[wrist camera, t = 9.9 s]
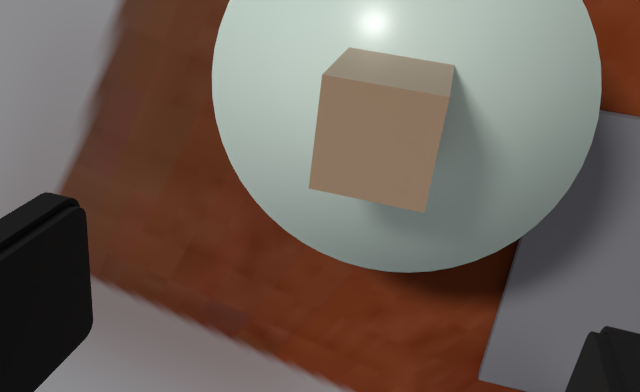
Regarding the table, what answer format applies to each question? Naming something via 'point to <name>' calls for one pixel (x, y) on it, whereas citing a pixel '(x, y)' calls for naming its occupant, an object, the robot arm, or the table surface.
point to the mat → (573, 269)
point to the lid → (406, 120)
